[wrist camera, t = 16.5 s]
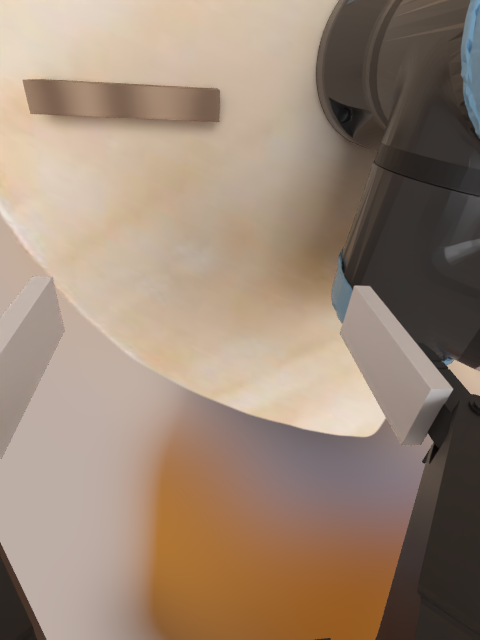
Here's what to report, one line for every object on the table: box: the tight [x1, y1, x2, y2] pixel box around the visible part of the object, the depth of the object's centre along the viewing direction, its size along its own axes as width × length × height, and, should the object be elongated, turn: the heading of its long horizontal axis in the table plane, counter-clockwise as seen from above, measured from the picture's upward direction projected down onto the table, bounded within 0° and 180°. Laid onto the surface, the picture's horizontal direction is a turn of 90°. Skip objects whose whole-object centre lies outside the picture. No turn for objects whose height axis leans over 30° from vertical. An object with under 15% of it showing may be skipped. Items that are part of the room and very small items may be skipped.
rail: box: [23, 79, 220, 122], centre depth 33 cm, size 16×2×5 cm, turn 87°
